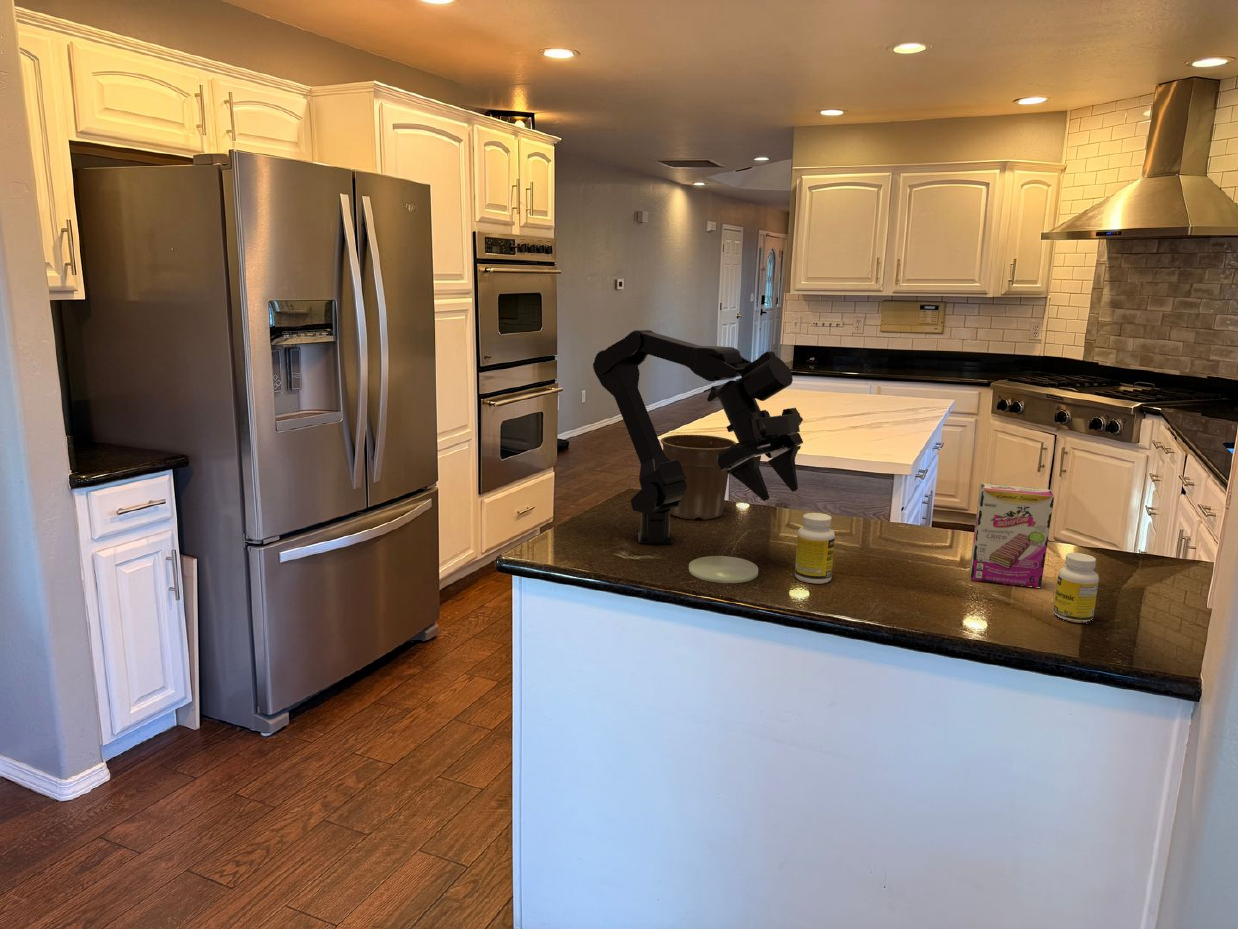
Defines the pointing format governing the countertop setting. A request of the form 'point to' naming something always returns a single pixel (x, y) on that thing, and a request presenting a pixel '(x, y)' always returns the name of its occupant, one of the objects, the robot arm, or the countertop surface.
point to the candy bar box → (1011, 534)
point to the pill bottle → (815, 549)
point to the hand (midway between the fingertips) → (781, 495)
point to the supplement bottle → (1076, 588)
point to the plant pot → (699, 474)
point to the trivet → (723, 569)
